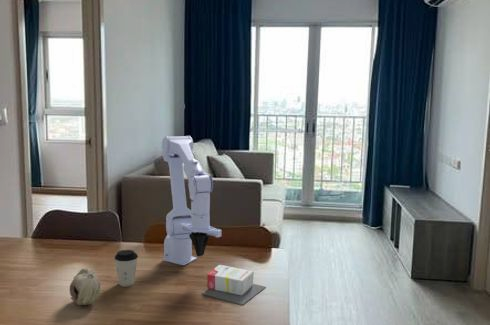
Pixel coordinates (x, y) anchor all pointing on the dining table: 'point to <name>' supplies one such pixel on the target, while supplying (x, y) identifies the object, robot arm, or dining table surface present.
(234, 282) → the ink box
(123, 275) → the coffee cup
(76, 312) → the dining table surface
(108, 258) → the dining table surface
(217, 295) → the mat
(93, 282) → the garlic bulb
